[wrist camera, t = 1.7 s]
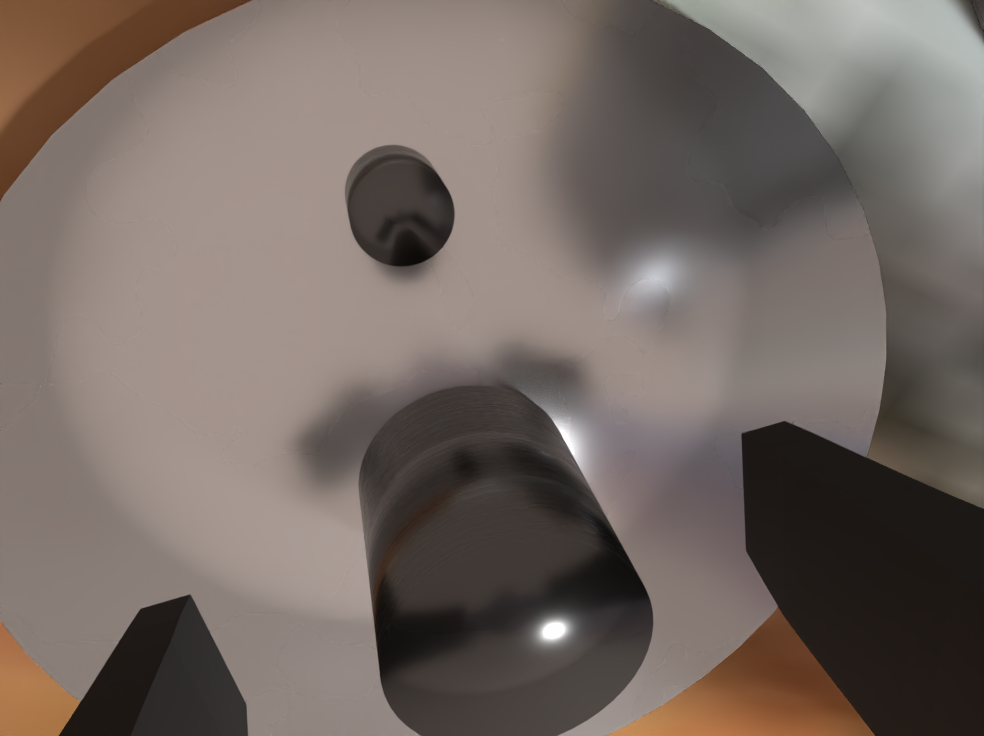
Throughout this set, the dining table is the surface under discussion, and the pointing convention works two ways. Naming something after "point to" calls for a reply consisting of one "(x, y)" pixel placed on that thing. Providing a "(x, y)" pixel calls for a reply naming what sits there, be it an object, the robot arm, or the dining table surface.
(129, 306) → the lid
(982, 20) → the cooking pot
